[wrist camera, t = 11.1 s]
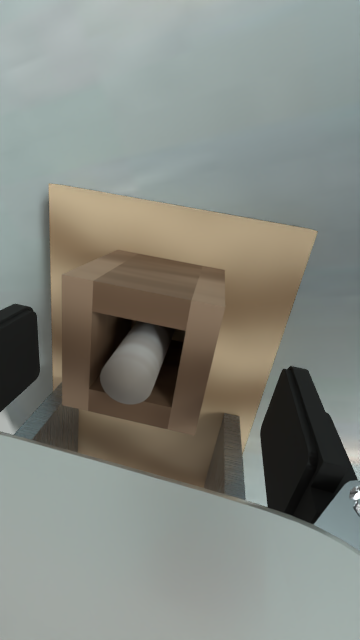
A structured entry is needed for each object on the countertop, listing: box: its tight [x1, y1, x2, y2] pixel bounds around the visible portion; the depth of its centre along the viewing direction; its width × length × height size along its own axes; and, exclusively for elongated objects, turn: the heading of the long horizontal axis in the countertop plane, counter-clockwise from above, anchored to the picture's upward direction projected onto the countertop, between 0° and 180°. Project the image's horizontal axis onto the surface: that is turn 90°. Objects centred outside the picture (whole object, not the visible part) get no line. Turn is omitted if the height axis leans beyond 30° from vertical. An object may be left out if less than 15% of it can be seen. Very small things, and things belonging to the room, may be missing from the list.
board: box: [49, 184, 318, 488], centre depth 16 cm, size 20×14×8 cm
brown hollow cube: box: [62, 250, 225, 436], centre depth 14 cm, size 6×6×6 cm
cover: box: [14, 382, 245, 500], centre depth 16 cm, size 7×12×10 cm, turn 81°
